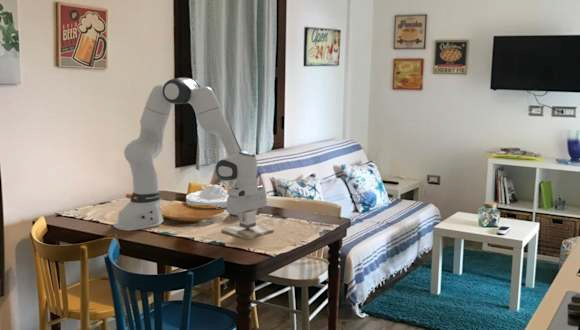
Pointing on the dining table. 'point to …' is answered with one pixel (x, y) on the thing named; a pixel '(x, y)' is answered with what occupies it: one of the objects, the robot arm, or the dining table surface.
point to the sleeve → (248, 219)
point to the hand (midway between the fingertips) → (247, 220)
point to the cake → (209, 196)
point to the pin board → (247, 231)
